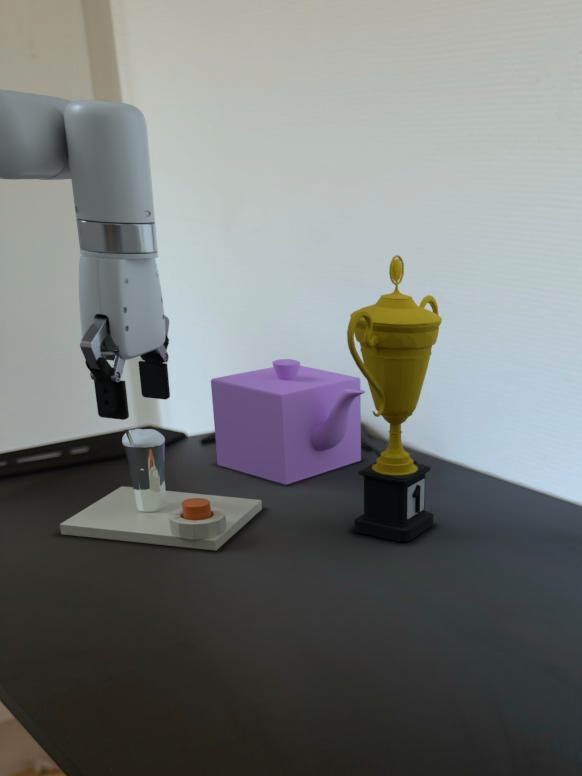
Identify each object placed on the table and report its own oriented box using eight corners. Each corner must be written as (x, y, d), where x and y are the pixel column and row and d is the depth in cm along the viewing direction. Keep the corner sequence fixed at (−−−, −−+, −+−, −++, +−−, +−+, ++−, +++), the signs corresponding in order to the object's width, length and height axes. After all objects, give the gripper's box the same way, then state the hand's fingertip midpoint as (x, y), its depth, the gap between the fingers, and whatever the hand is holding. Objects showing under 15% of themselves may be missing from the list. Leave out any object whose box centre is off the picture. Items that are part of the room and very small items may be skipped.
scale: (58, 535, 102) (54, 510, 101) (122, 495, 115) (119, 471, 114) (214, 552, 100) (212, 526, 99) (262, 509, 113) (260, 485, 112)
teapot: (326, 496, 118) (324, 385, 112) (193, 457, 130) (183, 355, 124) (400, 470, 130) (401, 368, 123) (271, 437, 141) (266, 342, 135)
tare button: (178, 520, 101) (176, 505, 100) (190, 511, 103) (188, 496, 103) (204, 523, 100) (203, 507, 100) (215, 514, 103) (214, 499, 102)
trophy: (390, 564, 100) (392, 265, 86) (314, 546, 103) (304, 256, 89) (466, 512, 115) (478, 253, 102) (397, 499, 119) (400, 246, 105)
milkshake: (118, 513, 106) (107, 426, 101) (144, 499, 110) (134, 415, 106) (154, 518, 105) (144, 431, 100) (179, 504, 110) (170, 420, 105)
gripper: (124, 232, 103) (140, 388, 111) (35, 243, 87) (61, 422, 95) (189, 237, 102) (200, 394, 110) (110, 249, 87) (130, 430, 95)
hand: (135, 407), depth 103 cm, fingers open, 9 cm apart
